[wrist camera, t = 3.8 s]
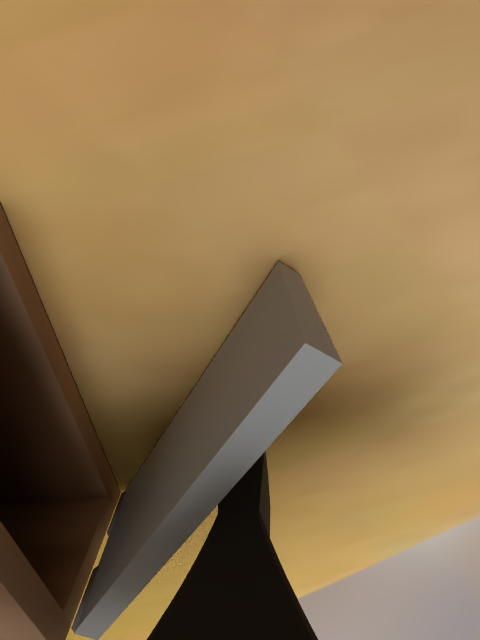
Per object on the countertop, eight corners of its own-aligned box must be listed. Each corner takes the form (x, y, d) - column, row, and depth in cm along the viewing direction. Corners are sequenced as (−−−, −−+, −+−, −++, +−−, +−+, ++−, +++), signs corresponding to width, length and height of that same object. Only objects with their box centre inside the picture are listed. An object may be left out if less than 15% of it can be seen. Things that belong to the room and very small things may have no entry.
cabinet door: (119, 496, 15) (64, 639, 10) (275, 259, 10) (299, 340, 6) (149, 506, 15) (108, 651, 11) (315, 283, 10) (369, 378, 6)
